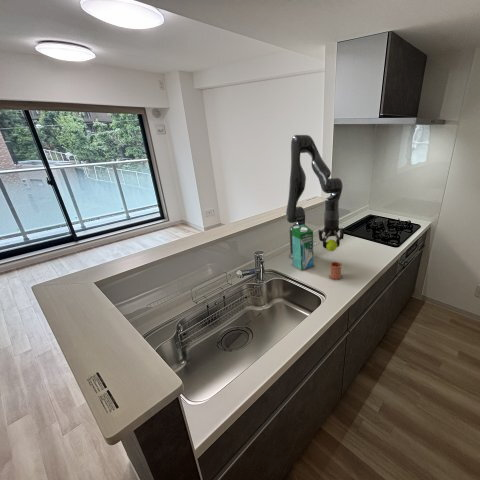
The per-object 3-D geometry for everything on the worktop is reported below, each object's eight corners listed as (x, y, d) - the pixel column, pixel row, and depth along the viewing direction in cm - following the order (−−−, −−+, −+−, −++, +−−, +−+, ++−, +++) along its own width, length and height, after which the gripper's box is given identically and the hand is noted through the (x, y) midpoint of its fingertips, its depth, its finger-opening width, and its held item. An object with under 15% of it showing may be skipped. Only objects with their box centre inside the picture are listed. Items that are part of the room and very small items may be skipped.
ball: (323, 249, 143) (323, 238, 141) (334, 247, 144) (335, 237, 142) (327, 253, 138) (327, 242, 135) (338, 252, 139) (338, 241, 136)
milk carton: (301, 270, 154) (300, 230, 144) (292, 264, 160) (291, 226, 151) (313, 266, 159) (313, 227, 149) (304, 260, 165) (303, 223, 156)
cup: (329, 275, 148) (329, 262, 145) (338, 273, 149) (339, 261, 146) (332, 280, 143) (332, 267, 140) (342, 278, 144) (342, 266, 141)
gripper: (342, 214, 139) (341, 243, 145) (316, 216, 136) (316, 245, 142) (347, 218, 132) (346, 248, 138) (319, 220, 129) (319, 251, 136)
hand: (331, 247), depth 140 cm, fingers closed on ball, 6 cm apart
